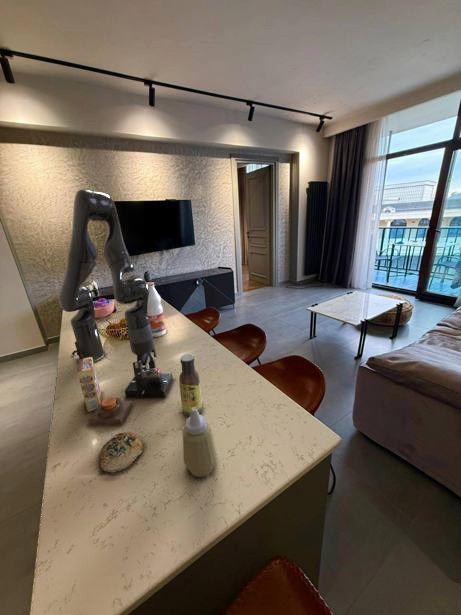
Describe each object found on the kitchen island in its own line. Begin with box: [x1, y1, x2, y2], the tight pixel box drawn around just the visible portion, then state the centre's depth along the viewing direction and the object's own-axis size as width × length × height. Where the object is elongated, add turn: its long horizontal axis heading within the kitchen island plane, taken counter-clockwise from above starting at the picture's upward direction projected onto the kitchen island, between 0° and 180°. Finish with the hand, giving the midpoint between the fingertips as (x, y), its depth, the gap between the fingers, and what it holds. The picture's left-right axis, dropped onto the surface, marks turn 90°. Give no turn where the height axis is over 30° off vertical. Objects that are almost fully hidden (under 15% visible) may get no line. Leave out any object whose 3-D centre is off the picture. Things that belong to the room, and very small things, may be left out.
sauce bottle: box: [178, 353, 203, 417], centre depth 78 cm, size 6×6×20 cm
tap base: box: [124, 373, 174, 399], centre depth 93 cm, size 14×13×3 cm
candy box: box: [76, 357, 102, 412], centre depth 85 cm, size 9×4×15 cm, turn 26°
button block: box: [88, 397, 133, 426], centre depth 81 cm, size 10×8×4 cm
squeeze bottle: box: [182, 407, 217, 478], centre depth 60 cm, size 8×8×18 cm
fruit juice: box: [146, 281, 167, 338], centre depth 132 cm, size 9×9×28 cm
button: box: [101, 396, 117, 410], centre depth 80 cm, size 4×4×2 cm
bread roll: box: [98, 431, 144, 474], centre depth 67 cm, size 11×11×5 cm
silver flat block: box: [133, 367, 162, 383], centre depth 91 cm, size 9×2×5 cm, turn 87°
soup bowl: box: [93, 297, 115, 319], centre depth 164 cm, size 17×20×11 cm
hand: (149, 377), depth 92 cm, fingers open, 8 cm apart
